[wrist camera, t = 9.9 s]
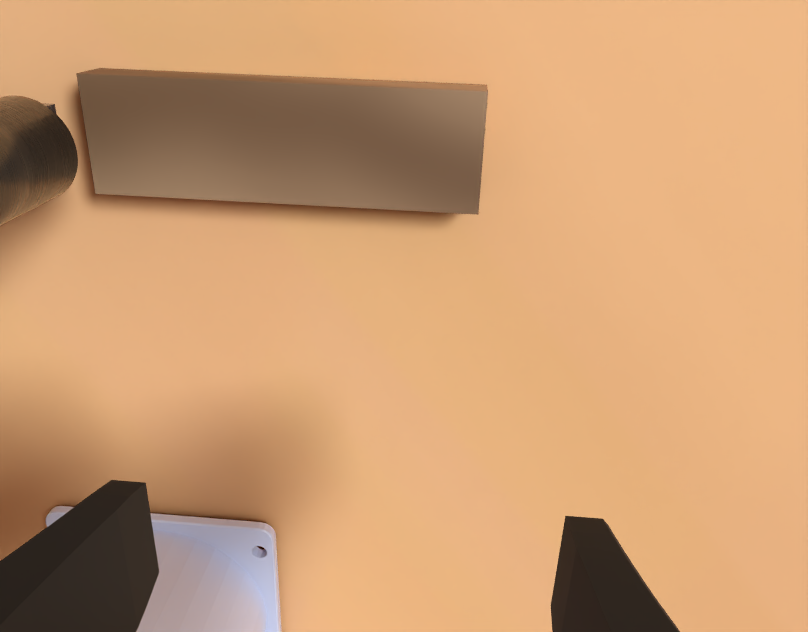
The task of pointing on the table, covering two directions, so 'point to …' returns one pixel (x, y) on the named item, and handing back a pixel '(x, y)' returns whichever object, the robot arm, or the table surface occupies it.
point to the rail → (285, 139)
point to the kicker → (32, 156)
